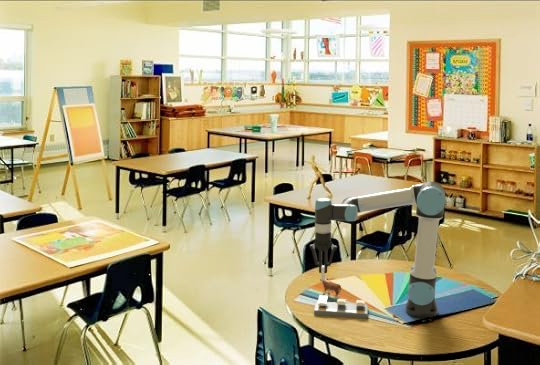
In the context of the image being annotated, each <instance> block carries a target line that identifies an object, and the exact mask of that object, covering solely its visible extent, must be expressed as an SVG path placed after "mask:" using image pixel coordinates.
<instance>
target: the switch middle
mask: <svg viewBox="0 0 540 365" xmlns="http://www.w3.org/2000/svg"><path fill="white" fill-rule="evenodd" d="M336 302H337V304H338V305H345V304H346V303H347V299H346V298H337V301H336Z"/></svg>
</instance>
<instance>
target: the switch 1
mask: <svg viewBox="0 0 540 365" xmlns="http://www.w3.org/2000/svg"><path fill="white" fill-rule="evenodd" d="M328 299H329V298H328V295H319V296H318V300H317V301H318V305H320V306H326V305H327V302H328Z"/></svg>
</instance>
